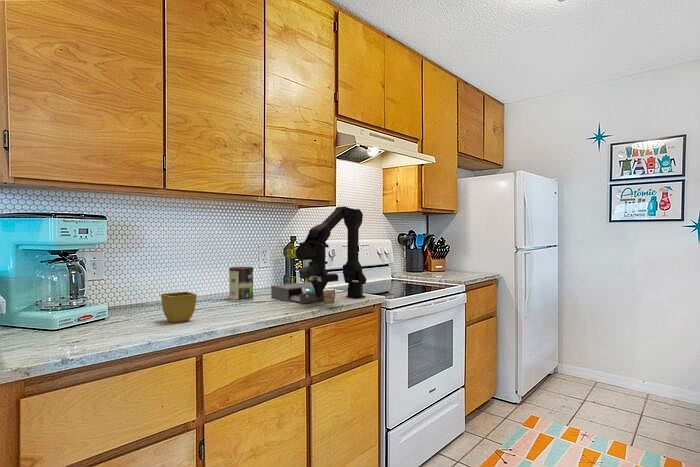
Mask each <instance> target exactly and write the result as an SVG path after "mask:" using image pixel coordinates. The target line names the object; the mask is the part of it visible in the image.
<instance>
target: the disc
mask: <svg viewBox="0 0 700 467" xmlns="http://www.w3.org/2000/svg"><path fill="white" fill-rule="evenodd" d="M312 292H315V290H314V287H313V286H311V285H303V286H302V289H301V293H302V294H304V293H312Z"/></svg>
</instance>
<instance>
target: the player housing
mask: <svg viewBox="0 0 700 467" xmlns="http://www.w3.org/2000/svg"><path fill="white" fill-rule="evenodd" d="M303 285H311V286H313V285H312V284H311V283H310V282H294V283H285V284H278V285H277V284H275V285H271V286H270V291H271V297H270V298H271V299H274V300H279V301H282V302H283V301H284V302H287V303H292V302H295V301H294V300H289V297H290V295H298V294H302V293H301V289H302V286H303Z"/></svg>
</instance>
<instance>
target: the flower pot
mask: <svg viewBox="0 0 700 467" xmlns="http://www.w3.org/2000/svg"><path fill="white" fill-rule="evenodd" d="M197 295H198V294H197V293H194V292H190V291H178V292H167V293H165V292H164V293H160V298H161V300H160V301H161V307H162V312H163V314H164V316H165V318H166V320H167V321H169V322H172V323H174V324H176V323H179V322H180V323H181V322H188V321H190V320H191V319H192V316H193V315H194V312H195V309H196V306H197V297H198V296H197Z"/></svg>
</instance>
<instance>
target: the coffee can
mask: <svg viewBox="0 0 700 467" xmlns="http://www.w3.org/2000/svg"><path fill="white" fill-rule="evenodd" d="M228 270H229V272H228V273H229V274H228V275H229V278H228V280H229V288H228V289H229V291H228V292H229V299H228V301H230V302H236V303H237V302H238V303H239V302H250V301H253V300H254V267H253V266H232V267H228Z"/></svg>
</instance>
